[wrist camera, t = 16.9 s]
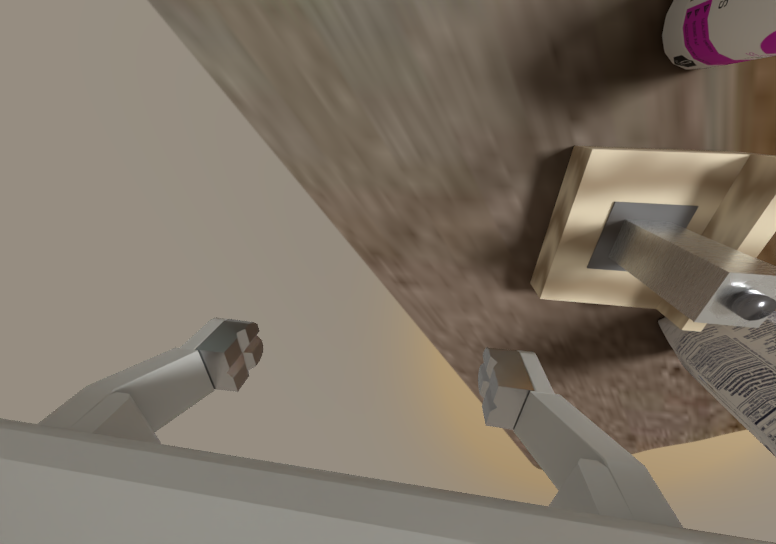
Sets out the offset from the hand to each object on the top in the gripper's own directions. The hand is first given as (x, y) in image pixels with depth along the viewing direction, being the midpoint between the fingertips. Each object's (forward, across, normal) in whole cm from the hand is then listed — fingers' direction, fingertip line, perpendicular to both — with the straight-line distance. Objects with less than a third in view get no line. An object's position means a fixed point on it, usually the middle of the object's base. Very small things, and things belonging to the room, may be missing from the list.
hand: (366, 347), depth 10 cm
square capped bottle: (+25, +26, -4) cm, 36 cm away
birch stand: (+29, +26, -4) cm, 39 cm away
